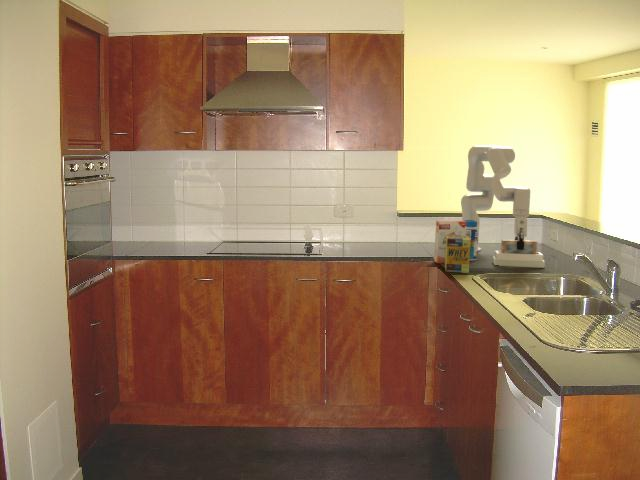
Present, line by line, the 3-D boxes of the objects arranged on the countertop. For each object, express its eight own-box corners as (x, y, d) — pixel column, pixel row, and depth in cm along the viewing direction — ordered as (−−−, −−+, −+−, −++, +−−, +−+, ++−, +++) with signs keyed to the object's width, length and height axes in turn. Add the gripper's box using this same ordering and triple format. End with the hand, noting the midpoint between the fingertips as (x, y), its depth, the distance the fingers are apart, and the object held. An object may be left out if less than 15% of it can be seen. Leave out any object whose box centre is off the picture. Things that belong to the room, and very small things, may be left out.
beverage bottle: (457, 258, 314) (458, 220, 311) (470, 257, 317) (472, 219, 314) (466, 261, 306) (468, 221, 303) (480, 260, 309) (482, 221, 306)
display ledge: (494, 265, 295) (495, 253, 294) (492, 262, 304) (493, 250, 303) (544, 267, 290) (545, 255, 289) (540, 264, 300) (541, 252, 299)
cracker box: (437, 263, 298) (438, 221, 295) (433, 261, 304) (435, 220, 301) (465, 263, 299) (466, 221, 296) (460, 261, 305) (462, 220, 302)
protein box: (445, 272, 277) (447, 238, 275) (444, 266, 292) (445, 234, 290) (469, 273, 275) (470, 239, 273) (467, 267, 290) (468, 235, 288)
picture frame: (502, 259, 296) (503, 240, 295) (500, 257, 300) (501, 239, 299) (536, 260, 294) (537, 241, 292) (534, 258, 298) (535, 240, 297)
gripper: (531, 215, 285) (529, 251, 287) (526, 211, 301) (524, 245, 304) (515, 214, 286) (513, 250, 288) (510, 211, 303) (508, 245, 305)
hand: (518, 248), depth 296 cm, fingers open, 9 cm apart
